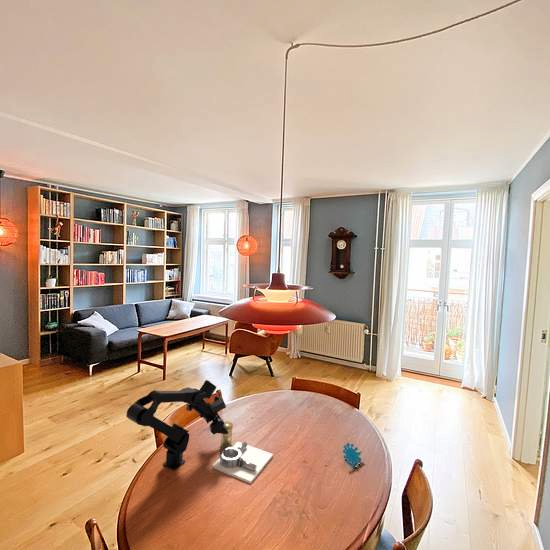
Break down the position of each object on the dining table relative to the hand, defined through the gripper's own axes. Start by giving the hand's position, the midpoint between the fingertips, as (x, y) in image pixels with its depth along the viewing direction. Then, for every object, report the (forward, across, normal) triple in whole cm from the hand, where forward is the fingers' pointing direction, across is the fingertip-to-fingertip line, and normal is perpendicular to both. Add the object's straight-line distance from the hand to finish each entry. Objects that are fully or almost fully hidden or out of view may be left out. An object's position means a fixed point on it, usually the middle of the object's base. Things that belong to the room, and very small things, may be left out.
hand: (225, 428), depth 147 cm
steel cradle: (+9, -14, +2) cm, 17 cm away
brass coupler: (+6, 0, +5) cm, 8 cm away
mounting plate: (+9, -14, +2) cm, 17 cm away
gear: (+42, -29, -30) cm, 59 cm away
